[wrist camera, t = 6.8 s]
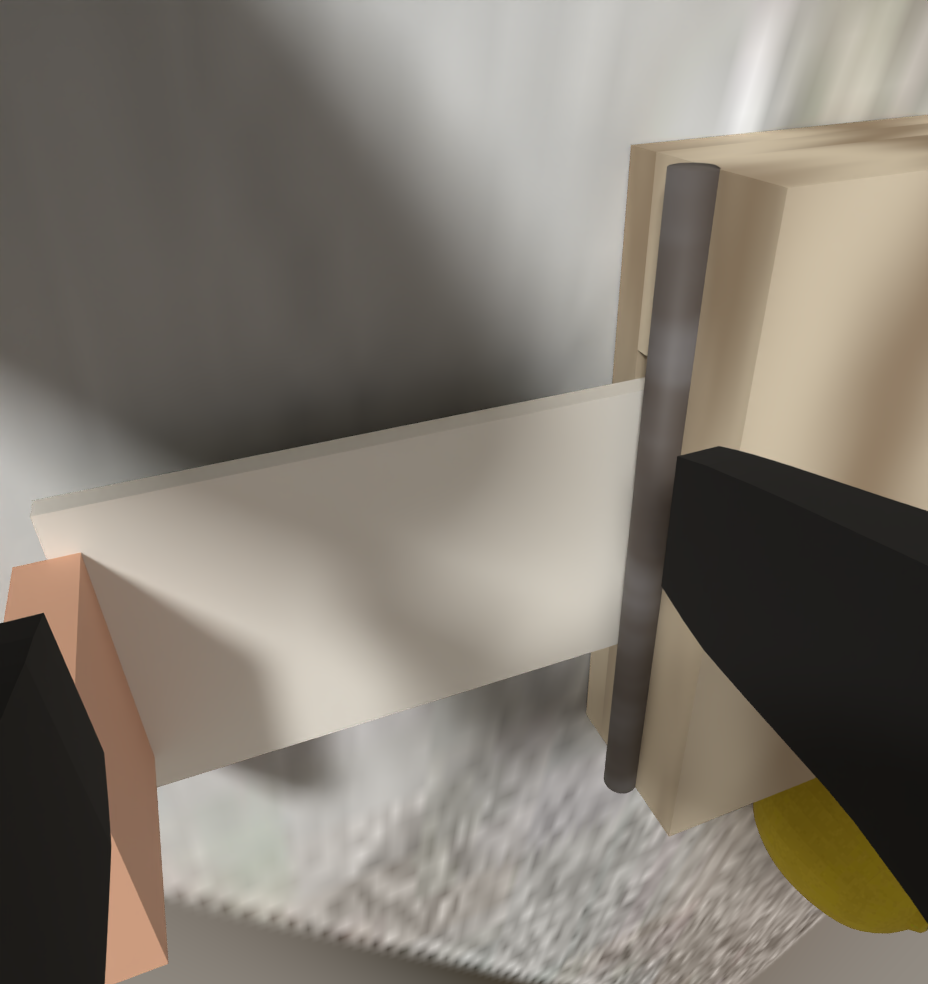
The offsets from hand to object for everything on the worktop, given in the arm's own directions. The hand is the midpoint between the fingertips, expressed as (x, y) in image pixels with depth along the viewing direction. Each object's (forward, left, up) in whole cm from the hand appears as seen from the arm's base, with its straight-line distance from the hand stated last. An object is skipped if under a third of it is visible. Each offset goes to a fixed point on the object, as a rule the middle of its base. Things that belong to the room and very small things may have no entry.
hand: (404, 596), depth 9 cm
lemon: (-17, +21, -10) cm, 29 cm away
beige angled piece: (-2, +6, -8) cm, 10 cm away
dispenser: (-12, +6, -9) cm, 17 cm away
